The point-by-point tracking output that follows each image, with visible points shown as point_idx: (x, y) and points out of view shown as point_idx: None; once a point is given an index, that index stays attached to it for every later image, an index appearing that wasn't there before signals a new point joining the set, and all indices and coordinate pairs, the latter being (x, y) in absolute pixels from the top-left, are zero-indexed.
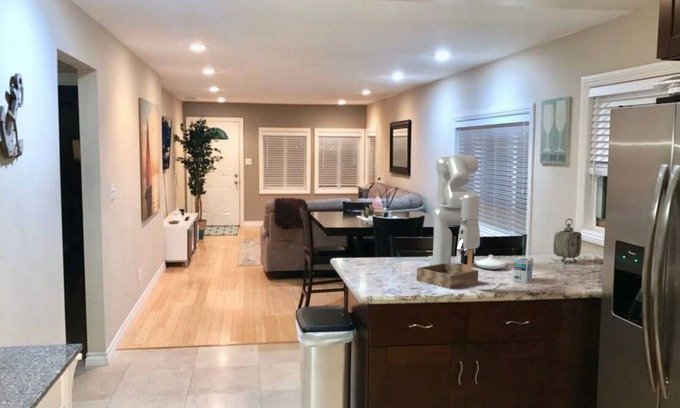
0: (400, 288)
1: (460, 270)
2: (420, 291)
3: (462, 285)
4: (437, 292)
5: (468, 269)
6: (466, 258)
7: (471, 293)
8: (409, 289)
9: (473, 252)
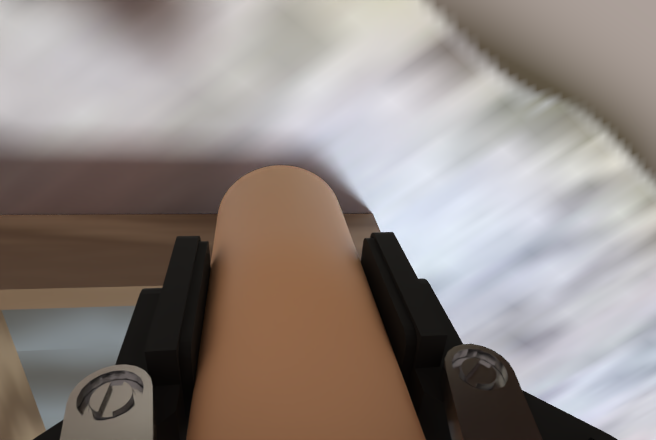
0: (577, 370)
1: (6, 417)
2: (574, 278)
3: (211, 218)
4: (528, 205)
5: (320, 187)
6: (424, 301)
7: (357, 10)
8: (567, 336)
9: (155, 407)
